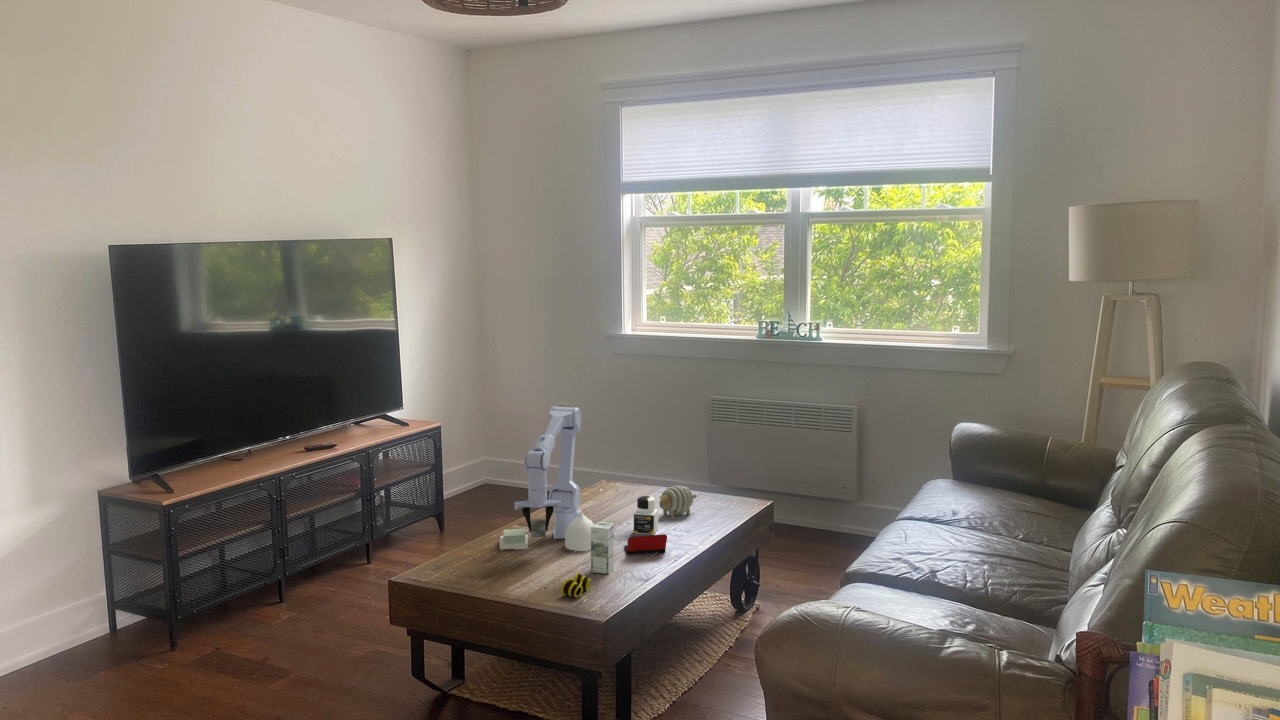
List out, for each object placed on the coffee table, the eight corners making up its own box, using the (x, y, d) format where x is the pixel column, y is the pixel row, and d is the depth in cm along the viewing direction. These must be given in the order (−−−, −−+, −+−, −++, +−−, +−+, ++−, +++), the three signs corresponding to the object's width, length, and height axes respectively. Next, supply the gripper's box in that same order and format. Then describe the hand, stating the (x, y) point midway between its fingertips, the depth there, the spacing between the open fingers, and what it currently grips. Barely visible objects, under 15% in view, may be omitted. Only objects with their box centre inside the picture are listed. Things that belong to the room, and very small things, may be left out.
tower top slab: (524, 535, 298) (524, 528, 297) (525, 542, 291) (525, 535, 290) (503, 537, 297) (503, 529, 296) (503, 543, 290) (503, 536, 289)
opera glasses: (575, 602, 248) (578, 586, 247) (559, 596, 249) (562, 580, 248) (591, 590, 256) (593, 574, 256) (574, 584, 258) (577, 568, 257)
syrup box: (614, 568, 272) (614, 522, 270) (608, 575, 266) (608, 527, 264) (596, 566, 273) (596, 520, 272) (590, 573, 268) (589, 526, 266)
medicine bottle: (633, 533, 306) (633, 499, 304) (638, 527, 313) (638, 494, 311) (653, 535, 304) (653, 500, 303) (658, 528, 311) (658, 495, 310)
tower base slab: (527, 541, 299) (527, 534, 299) (527, 550, 290) (527, 543, 290) (500, 543, 298) (500, 535, 298) (499, 551, 289) (499, 544, 289)
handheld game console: (661, 546, 293) (661, 524, 292) (667, 557, 283) (667, 534, 282) (623, 548, 291) (623, 526, 290) (628, 559, 281) (628, 536, 280)
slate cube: (545, 532, 285) (545, 518, 284) (545, 536, 281) (545, 522, 280) (531, 533, 284) (530, 519, 284) (531, 537, 280) (530, 523, 279)
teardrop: (577, 539, 300) (577, 504, 299) (604, 544, 295) (604, 509, 293) (557, 548, 291) (557, 512, 290) (586, 554, 285) (585, 517, 284)
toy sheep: (651, 516, 325) (651, 487, 324) (683, 507, 337) (683, 479, 335) (671, 523, 318) (671, 492, 316) (704, 513, 329) (704, 484, 328)
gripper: (514, 492, 276) (514, 535, 278) (561, 490, 278) (561, 533, 279) (514, 486, 283) (515, 528, 285) (560, 485, 285) (560, 526, 286)
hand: (538, 530), depth 282 cm, fingers closed on slate cube, 4 cm apart
